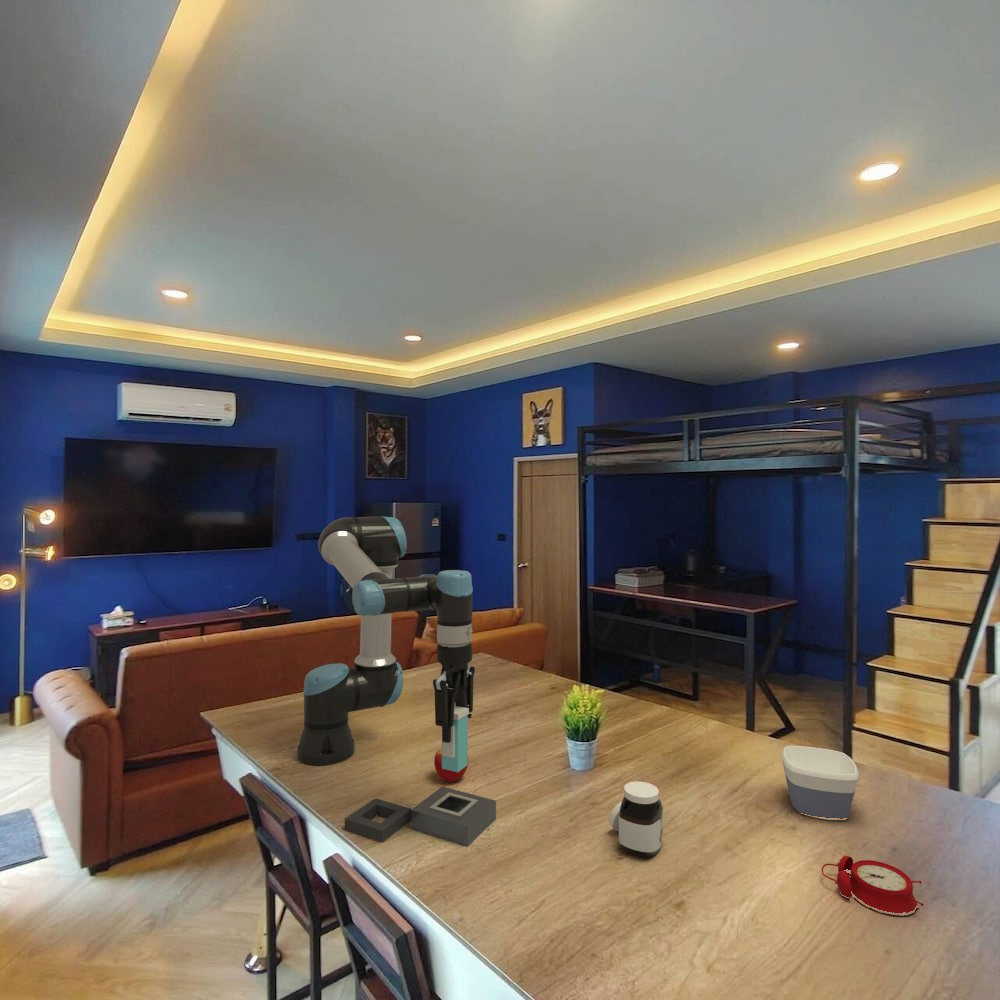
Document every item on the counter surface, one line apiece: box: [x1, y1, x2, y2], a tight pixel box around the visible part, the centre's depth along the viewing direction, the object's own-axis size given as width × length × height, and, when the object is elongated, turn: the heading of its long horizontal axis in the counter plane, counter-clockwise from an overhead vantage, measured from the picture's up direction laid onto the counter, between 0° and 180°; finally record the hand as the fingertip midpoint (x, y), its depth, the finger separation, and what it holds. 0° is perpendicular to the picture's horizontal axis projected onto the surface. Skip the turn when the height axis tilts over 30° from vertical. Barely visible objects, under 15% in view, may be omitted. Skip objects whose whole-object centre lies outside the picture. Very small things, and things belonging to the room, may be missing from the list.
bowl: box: [781, 745, 860, 819], centre depth 139 cm, size 15×15×11 cm
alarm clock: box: [821, 855, 924, 913], centre depth 109 cm, size 10×6×15 cm
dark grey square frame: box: [344, 798, 412, 843], centre depth 131 cm, size 10×10×2 cm
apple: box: [433, 747, 469, 783], centre depth 152 cm, size 8×8×10 cm
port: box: [410, 786, 497, 847], centre depth 131 cm, size 14×12×4 cm
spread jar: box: [608, 780, 664, 858], centre depth 125 cm, size 12×11×12 cm
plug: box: [441, 705, 470, 772], centre depth 131 cm, size 4×4×12 cm
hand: (454, 752), depth 131 cm, fingers closed on plug, 4 cm apart
